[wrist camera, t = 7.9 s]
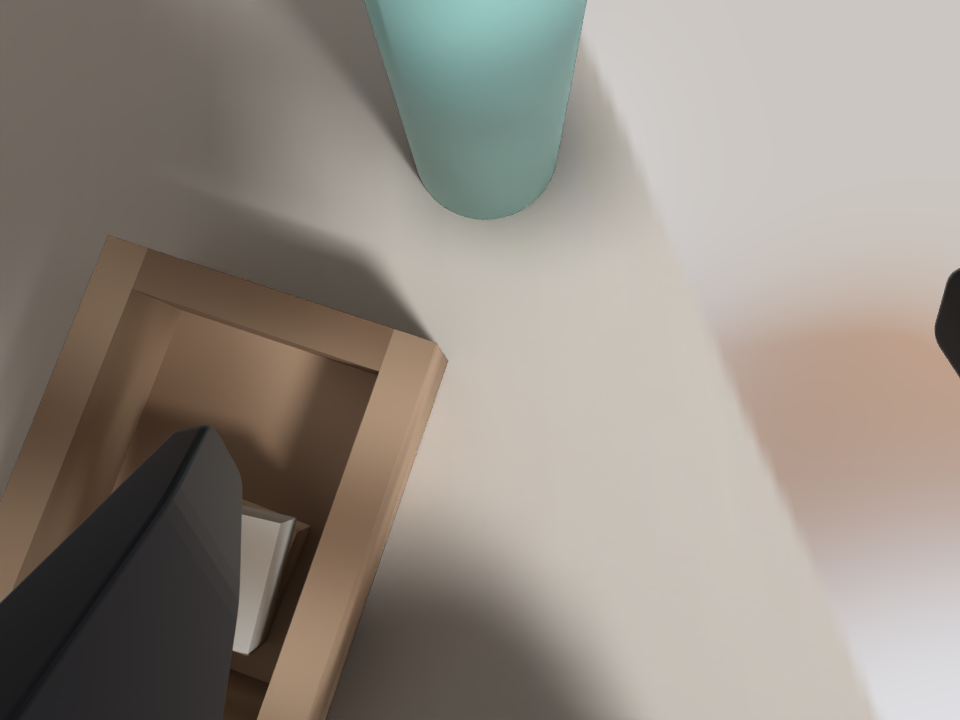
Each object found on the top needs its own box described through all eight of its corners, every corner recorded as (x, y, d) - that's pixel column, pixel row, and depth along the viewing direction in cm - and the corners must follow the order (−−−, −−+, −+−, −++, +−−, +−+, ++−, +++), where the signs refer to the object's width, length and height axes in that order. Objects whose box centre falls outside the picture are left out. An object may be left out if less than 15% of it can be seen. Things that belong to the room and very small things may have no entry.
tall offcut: (497, 247, 19) (482, -167, 6) (385, 161, 19) (151, -398, 7) (586, 138, 19) (755, -479, 6) (475, 55, 20) (421, -682, 7)
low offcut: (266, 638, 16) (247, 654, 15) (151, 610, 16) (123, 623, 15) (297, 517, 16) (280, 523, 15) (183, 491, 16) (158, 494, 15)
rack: (321, 732, 18) (280, 797, 14) (36, 625, 18) (-66, 665, 15) (448, 360, 19) (436, 342, 15) (175, 270, 19) (108, 235, 16)
